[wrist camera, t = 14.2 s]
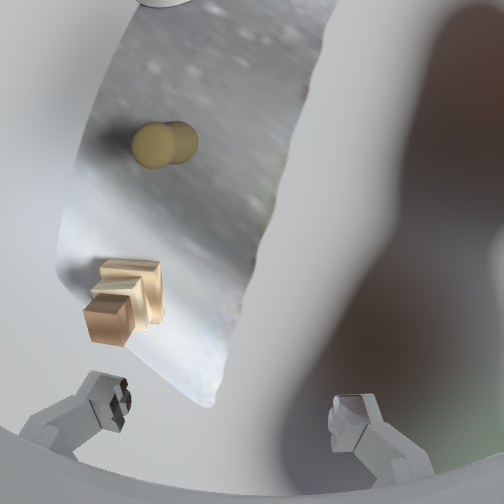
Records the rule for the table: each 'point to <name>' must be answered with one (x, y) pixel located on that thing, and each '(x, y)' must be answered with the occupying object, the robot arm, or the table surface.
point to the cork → (164, 144)
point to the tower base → (150, 278)
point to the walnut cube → (110, 319)
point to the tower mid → (137, 294)
